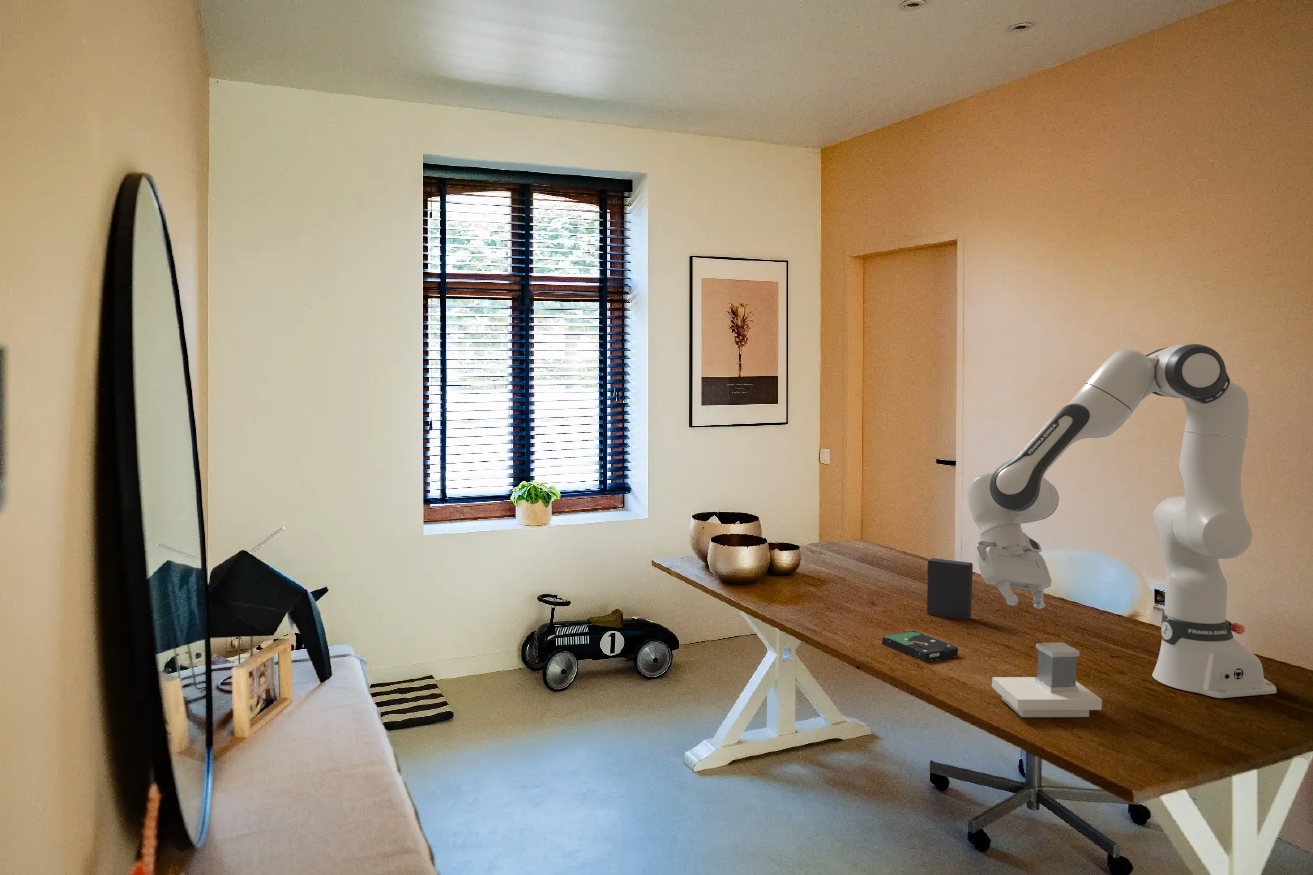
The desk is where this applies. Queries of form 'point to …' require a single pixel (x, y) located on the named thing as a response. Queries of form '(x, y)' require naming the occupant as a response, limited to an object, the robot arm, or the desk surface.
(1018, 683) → the stand
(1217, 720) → the desk surface
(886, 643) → the disk drive
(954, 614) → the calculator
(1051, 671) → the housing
